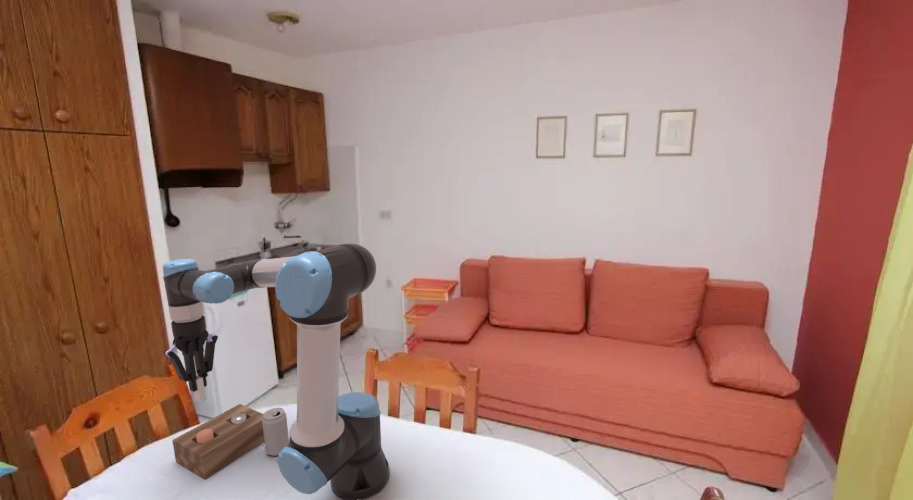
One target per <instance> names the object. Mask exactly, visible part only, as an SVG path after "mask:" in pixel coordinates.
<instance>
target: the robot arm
mask: <svg viewBox="0 0 913 500" xmlns="http://www.w3.org/2000/svg"><path fill="white" fill-rule="evenodd" d="M162 273H163V277H162V279H163V283H164V289H165V294H166V299H167V305H168V306H167V307H168V312H169V313H168V314H169V318H170V320H171V322H170V324H171V331H172V336H173V340H172V345H171V346H170V348H169V349H165V350H164V351H163V355H165V356H166V357H168V359H169V360H170V362H171V365H172V366H173V367H172V368H174V371H175V372H176V375H177V376H178V379H179V380H181V381H183V382H184V383H187V382H188V385H189V386H188V387H189V390H190V391H191V392H192V393H193V397H194V401H197V402H199V403H202V402H204V401H206V400H207V397H206V392H205V391H206V390H205V388H206V387H207V386H208V384H207V383H208V382H207V381H208V380H207V377H208V376H209V375H208V374H209V373H210V372H212V371H213V367H214V360H215V350H216V349H215V348H216V343H217V341H218V339H219V336H218V335H216V334H212V333H210V334H209V331H207V330H208V329H207V322H206V316H205V308H204V303H206V304H222V303H224V302H226V301H228V299H230V298H231V296H233V295H236V294H237V295H238V294H239V293H242V292H247V291H249V290H253V289H262V288H275V289H274V291H275V296H276V299H277V301H280V303H279V306H280V308H281V309H282V310H283V312H284V313H286V314H287V315H288V317H289V320H290V321H291V322H293V323H294V324H295V325H296V365H297V366H296V372H297V373H296V389H297V390H296V419H295V420H294V421H293V422H292V424H291V426H290V429H289V445H288V446H287V447H284V448H283V449H282V451H281V452H280V453H279V455H277V465H278V469H279V472H280V473H281V475H282V477H283V478H284V480H286V482H287V483H288V484H289V486H291V487H292V488H293V489H295V490H296V492H299V493H301V494H305V495H312V494H314V493H317V492H318V491H319V490H320V489H322V488H324V486H326V485H328V482H330V488H331V491H332V492H333V493H334V495H335V496H336V497H338V498H340V499H343V500H357V499H361V500H365V499H368V498H370V496H371V497H373V496H374V495H376V494H377V493H380V491H382V489H384V488H385V486H386V485H387V483H388V481H389V478H390V467H389V462H388V459H387V458H386V455H385V453H384V451H383V447H382V432H381V429H382V427H381V410H380V403H379V400H378V399H377V398H376V396H374V395H372V394H370V393H367V392H361V391H359V392H357V391H356V392H348V393H343V394H341V395H339V390H340V389H339V388H340V387H339V386H340V385H339V382H340V355H341V354H340V351H341V323H343V322H344V321H345V320H346V319H348V317H349V302H350V299H351V298H353V297H355V296H358V295H360V294H362V293H363V292H365V291H366V290H367V289H369V287H371V286H372V283H373V282H374V280H375V278H376V274H377V263H376V260H375V258H374V256H373V254H372V252H370V251H369V250H368V249H367V248H366V247H364V246H362V245H360V244H356V243H342V244H338V245H334V246H330V247H327V248H322V249H317V250H313V251H312V250H311V251H305V252H303V253H301V254H298V255H295V256H287V257H277V258H276V257H275V258H266V257H265V258H256V259H253V260H249V261H244V262H241V263H236V264H233V265H227V266H224V267H218V268H214V269H209V270H202V269H201V270H200V269H199V265H198V263H197V260H196V259H193V258H180V259H179V258H178V259H174V260H169V261H167V262H165V263H163V265H162ZM204 345H205V348H204ZM178 351H180V352H181V355H182V356H183V361H184V365H183V362H182V361H181V358H180V356H178V355H179V352H178ZM367 497H368V498H367ZM364 498H365V499H364Z"/></svg>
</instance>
